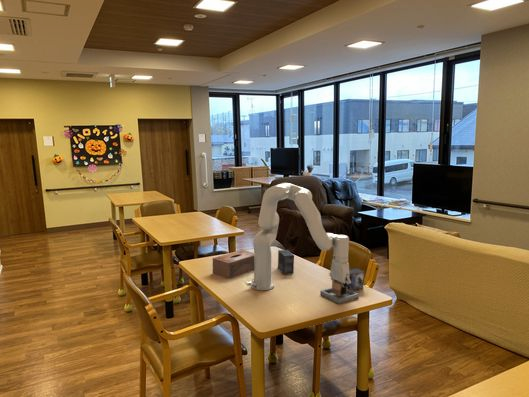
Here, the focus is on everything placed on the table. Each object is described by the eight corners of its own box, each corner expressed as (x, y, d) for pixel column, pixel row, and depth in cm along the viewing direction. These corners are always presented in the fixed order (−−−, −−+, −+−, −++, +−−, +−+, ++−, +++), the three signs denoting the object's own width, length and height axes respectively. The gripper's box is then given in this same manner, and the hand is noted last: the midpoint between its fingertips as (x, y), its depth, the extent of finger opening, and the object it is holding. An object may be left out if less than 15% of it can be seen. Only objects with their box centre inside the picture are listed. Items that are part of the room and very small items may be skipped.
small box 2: (348, 292, 208) (349, 274, 207) (341, 288, 214) (342, 270, 213) (363, 289, 213) (364, 271, 212) (356, 285, 219) (356, 267, 217)
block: (339, 295, 199) (339, 284, 198) (331, 292, 203) (332, 281, 202) (346, 293, 202) (347, 282, 201) (339, 290, 206) (339, 279, 205)
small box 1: (294, 274, 237) (294, 255, 235) (283, 274, 236) (283, 255, 234) (287, 267, 250) (288, 249, 248) (277, 268, 248) (277, 250, 246)
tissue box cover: (228, 279, 227) (228, 263, 226) (212, 273, 236) (212, 258, 235) (258, 269, 246) (258, 253, 245) (242, 264, 256) (242, 249, 254)
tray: (338, 304, 193) (339, 299, 193) (320, 294, 205) (320, 290, 205) (358, 298, 201) (358, 293, 200) (339, 289, 212) (339, 285, 212)
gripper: (324, 255, 205) (323, 288, 208) (347, 264, 191) (345, 299, 193) (334, 253, 209) (333, 285, 212) (358, 261, 195) (356, 296, 197)
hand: (339, 291), depth 202 cm, fingers closed on block, 5 cm apart
